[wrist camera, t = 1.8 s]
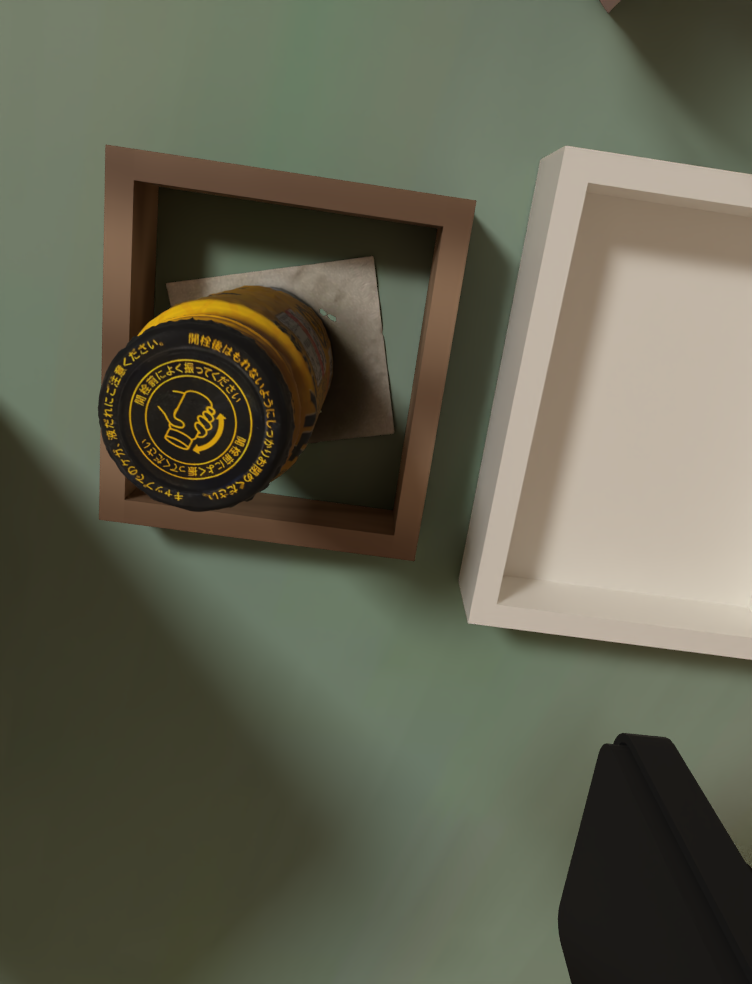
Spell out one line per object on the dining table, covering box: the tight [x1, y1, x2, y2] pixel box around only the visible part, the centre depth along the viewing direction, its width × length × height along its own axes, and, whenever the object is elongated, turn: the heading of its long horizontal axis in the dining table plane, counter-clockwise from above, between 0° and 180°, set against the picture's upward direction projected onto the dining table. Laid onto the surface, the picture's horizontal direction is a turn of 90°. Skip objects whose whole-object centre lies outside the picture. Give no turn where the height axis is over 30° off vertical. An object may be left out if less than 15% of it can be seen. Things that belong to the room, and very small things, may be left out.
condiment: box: [98, 256, 394, 512], centre depth 25 cm, size 7×8×12 cm
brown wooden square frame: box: [99, 145, 476, 561], centre depth 29 cm, size 14×13×3 cm
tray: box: [458, 146, 752, 660], centre depth 29 cm, size 18×14×4 cm
